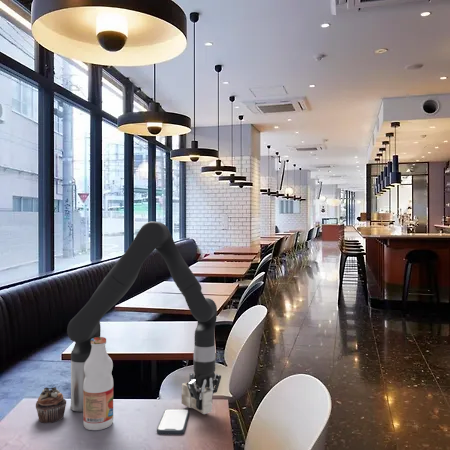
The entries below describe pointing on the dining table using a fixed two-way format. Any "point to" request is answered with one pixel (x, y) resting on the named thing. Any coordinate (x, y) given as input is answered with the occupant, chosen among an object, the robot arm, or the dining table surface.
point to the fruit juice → (98, 387)
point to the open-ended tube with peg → (191, 401)
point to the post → (191, 377)
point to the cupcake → (50, 405)
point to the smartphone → (173, 421)
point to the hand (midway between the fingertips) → (204, 407)
